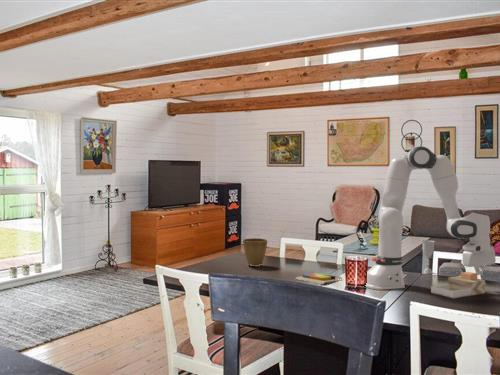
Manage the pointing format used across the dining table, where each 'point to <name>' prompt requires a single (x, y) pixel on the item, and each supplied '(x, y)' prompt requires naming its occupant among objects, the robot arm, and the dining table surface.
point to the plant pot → (255, 250)
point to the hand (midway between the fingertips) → (479, 274)
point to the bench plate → (467, 285)
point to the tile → (469, 275)
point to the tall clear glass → (428, 253)
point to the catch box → (449, 291)
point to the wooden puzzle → (319, 278)
